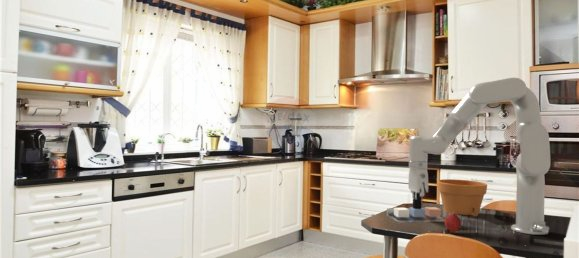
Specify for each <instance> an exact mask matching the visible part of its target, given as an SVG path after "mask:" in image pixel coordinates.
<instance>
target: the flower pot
mask: <svg viewBox="0 0 579 258" xmlns="http://www.w3.org/2000/svg"><path fill="white" fill-rule="evenodd" d="M437 190H438V192H439V194H440V197H441V204H442V208H443V211H444V212H445V213H449V214H451V212H454V213H455V215H459V216H460V215H461V216H462V215H464V216H471V217H475V218H476V217H477V216H478V215H479V213H480V210H481V206H482V204H483V200H484V196H485V195H487V190H488V184H487V183H485V182H482V181H477V180H469V179H468V180H467V179H453V178H452V179H451V178H447V179H439V180H437Z"/></svg>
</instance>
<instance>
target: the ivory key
mask: <svg viewBox="0 0 579 258" xmlns="http://www.w3.org/2000/svg"><path fill="white" fill-rule="evenodd" d="M393 208H394V215H395V216H397V217H409V209H407V207H393Z"/></svg>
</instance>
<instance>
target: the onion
mask: <svg viewBox="0 0 579 258" xmlns="http://www.w3.org/2000/svg"><path fill="white" fill-rule="evenodd" d="M444 219H445V221H444V226H445V228H446V229H447V230H448V231H449V232H450V233H452V234H454V233H456V232H457V231H459V230H460V229H461V227H462V221H461V219H460V217H459V216H458V214H455V213H454V212H451V213H449V214H448V215H447V216H446V217H445V218H444Z"/></svg>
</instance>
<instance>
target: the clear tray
mask: <svg viewBox="0 0 579 258" xmlns="http://www.w3.org/2000/svg"><path fill="white" fill-rule="evenodd" d="M394 208H395V207H393V208H391V207H389V208H386V216H387V217H389V218H390V219H392V220H394V221H396V222H398V223H426V222H427V223H429V222H430V223H432V222H434V223H435V222H441V223H442V222H445V219H446V218H443V217H442V216H441V217H430V216H428V215H425V217H414V216H412V215H410V207H408V208H407V207H406V208H407V209H409V217H397V216H395V215H394ZM422 208H423V209H425V207H422Z"/></svg>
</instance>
